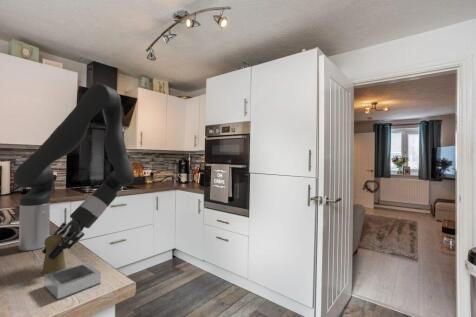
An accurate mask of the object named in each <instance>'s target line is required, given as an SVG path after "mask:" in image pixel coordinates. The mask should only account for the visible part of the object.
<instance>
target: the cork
mask: <svg viewBox="0 0 476 317" xmlns="http://www.w3.org/2000/svg"><path fill="white" fill-rule="evenodd" d="M61 240H62V235H53V234H52V235H49V237H47V238H46V239H45V242H44V244H45V247H46V254H44V260H43V264H42V272H41V273H42V274H43V275H46V274H49V273H52V272H55V271H59V270H62V269H65V268H67V266H66V260H65V253H64V250H63V251H62V252H61V253H60V254H59V255H58V256H57V257H56V258H55V259H54V260H52V259H50V258H49V257H48V255H49V254H50V253H51V252H52V250H53V249H54V248H55V247H56V246H58V244H59V243H60V242H61ZM45 247H44V248H45Z"/></svg>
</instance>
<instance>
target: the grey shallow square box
mask: <svg viewBox="0 0 476 317" xmlns="http://www.w3.org/2000/svg"><path fill="white" fill-rule="evenodd" d="M101 275H102V272H101V271H100V270H98V269H97V268H95V267H94V266H92V265H90V264H88V263H87V262H82V263H78V264H75V265H72V266H69V267H68V266H67V267H66V268H65V269H62V270H59V271H55V272H52V273H49V274H43V276H44V279H43V280H44V283H43V287H44V289H46V290H47V292H49V293H50V295H51V296H52V297H53V298H55V300H56V301H57V302H58V301H60V300H63V299H66V298H69V297H70V296H73V295H75V294H78V293H81V292H83V291H86V290H88V289H91V288H93V287H96V286H99V285H101V280H102V279H101Z"/></svg>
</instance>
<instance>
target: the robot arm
mask: <svg viewBox="0 0 476 317" xmlns="http://www.w3.org/2000/svg"><path fill="white" fill-rule="evenodd" d="M121 99H122V98H121V95H120V93H119V92H118V91H117V90H116V89H115V88H113V87H111V86H108V85H106V84H103V83H95V84H92V85H91V86H89V88H88V89H87V90H86V91H85V92H84V94H83V96H82V97H81V98H80V100H79V101H78V103H77V104H76V106H75V107H74V108H73V109H72V110H71V112H70V113H69V114H68V115H67V116H66V117H65V119H63V121H62V122H61V123H60V124H59V125H58V126H57V127H56V128H55V129H54V130H53V131H52V133H51V134H50V135H49V136H48V137H47V139H46V140H45V141H44V142H43V143H42V144H41V145H40V146H39V147H38V148H37V149H36V150H35V151H34V152H33V153H32V154H31V155H30V156H29V157H27V158H26V159H25V160H24V161H23V162H22V163H20V165H18V167H17V168H16V170H15V171H14V174H13V182H14V184H15V185H16V186H18V187H20V188H30V190H29V191H28V192H27V193H26V194H24V195H23V196H21V197H20V198H19V220H18V221H19V229H18V235H19V236H18V249H19V251H23V252H24V251H27V252H28V251H35V250H39V249H42V248H43V249H42V250H41V253H42V254H43V255H45V254H46V247H45V244H44V242H45V239H46V238H47V237H49V236H50V225H51V224H50V222H51V220H50V218H51V216H50V214H51V212H50V211H51V208H50V206H51V198H52V195H53V191H54V190H53V189H54V182H55V181H54V178H55V176H54V170H53V168H52V167H51V166H50V165H52V164H54V162H56V161H58V160H59V159H61V158H63V157H65V156H67V155H68V154H70V153H71V152H74V150H75V149H76V148H77V147H79V145H80V144H81V142H83V141H84V139H85V138H86V136H87V132H88V128H89V125H90V122H91V121H92V119H94V117H95V116H96V115H97V114H98V113H99V112H100V111H101V110H102V111H103V113H104V116H105V120H106V127H105V128H106V129H105V135H104V147H105V151H106V156H107V160H108V162H109V163H111V165H112V167H113V171H111V172H110V173H109V175H107V177H106V178H105V179H104V181H103V182H102V183H101V185H100V186H99V187H98V188H97V189H95V191H94V192H93V193H92V194H91V195H90V196H89V197H87V198H86V199H85V200H83V202H82V203H81V204H79V205H78V207H77V208H76V209H75V210H74V211H73V212H72V213H71V214H70V215H69V218H70V219H71V220H70V221H69V222H68V223H66V222H63V223H61V224H60V226H59V227H58V228H57V229H56V231H54V233H53V234H52V235H62V240H61V242H60V243H59V244H58V246H56V247H55V248H54V249H53V250H52V252H51V253H50V254H49V255H48V257H49V258H50V259H52V260H54V259H55V258H56V257H57V256H58V255H59V254H60V253H61V252H62V251H63V252H64V250H67V249H68V250H70V249H71V248H72V247H73V246H74V245H76V244H77V243H78V242H79V240H81V239H82V238H83V237H84V236H85V233H84V228H86V229H91V227H92V226H93V224H95V223H96V221H97V220H99V218H100V217H101V216H102V215H103V214H104V212H105V211H106V209H107V208H108V207H109V206H110V205H111V204H112V203H113V202H114V200H116V198H117V193H118V192H119V191H120V189H121V188H123V187H127V186H130V185H131V184H132V183H133V182H134V180H135V171H134V168H133V165H132V163H131V161H130V159H129V157H128V153H127V148H126V147H127V146H126V143H125V142H126V141H125V138H124V137H125V136H124V131H123V121H122V120H123V118H122V100H121Z"/></svg>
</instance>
